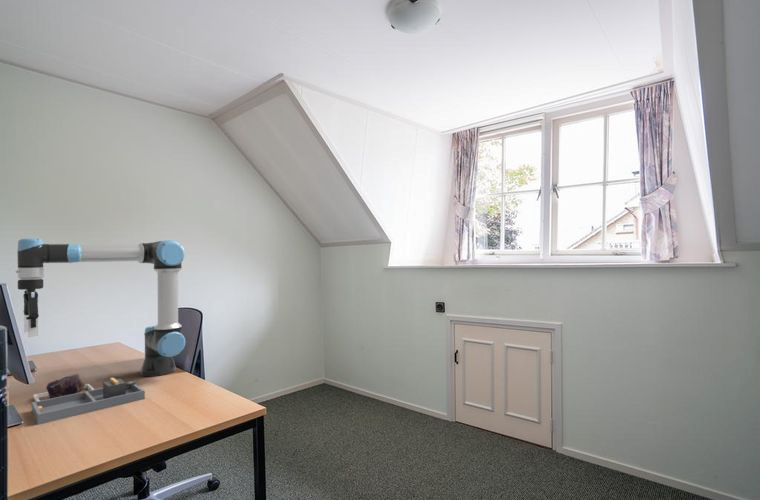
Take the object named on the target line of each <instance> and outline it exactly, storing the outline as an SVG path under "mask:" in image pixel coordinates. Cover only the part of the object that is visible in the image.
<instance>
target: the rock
mask: <svg viewBox="0 0 760 500" xmlns="http://www.w3.org/2000/svg"><path fill="white" fill-rule="evenodd" d="M47 383H48V384H47V385H46V388H45V389H46V392H48V393H49V396H48V399H51V398H56V397H61V396H66V395H70V394H75V393H80V392H83V391H84V390H85V388H84V385H85V383H84V382H83V381H82V379H81V376H80V375H79V374H78V373H75V374H72V375H69V376H65V377H63V378H60V379H56V380H54V381H51V382H47Z"/></svg>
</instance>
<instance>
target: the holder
mask: <svg viewBox="0 0 760 500" xmlns="http://www.w3.org/2000/svg"><path fill="white" fill-rule="evenodd" d="M145 396H146V395H145V390H144V389H143V388H142V387H140V386H139V385H137V381H136V380H132V381H124V380H123V379H121V378H115V377H110V378H109V380H107V381H103V383H102V387H99V388H94V390H85V391H81V392H78V393H75V394H70V395H66V396H61V397H56V398H51V399H50V398H48V399H47V398H46V399H42V400H40V401H37V402H35V401H32V402H31V413H32V415H33V416H34V418H35V422H36V423H37V425H42V424H45V423H49V422H53V421H54V422H55V421H58V420H61V419H62V420H63V419H66V418H69V417H74V416H79V415H83V414H86V413H91V412H95V411H99V410H104V409H107V408H112V407H117V406H120V405H124V404H128V403H134V402H137V401H141V400H145Z"/></svg>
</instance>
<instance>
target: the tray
mask: <svg viewBox="0 0 760 500" xmlns="http://www.w3.org/2000/svg"><path fill="white" fill-rule="evenodd" d="M84 389H87V390H88V391H90V390H94V389H95V388H94V386H92V385H91V384H90V383H86V384H85V383H84ZM44 397H49V393H48V391H45V392H41V393H35V394H33V400H34V402H37V401H41V400H40V398H44Z"/></svg>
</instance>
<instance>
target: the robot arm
mask: <svg viewBox="0 0 760 500" xmlns="http://www.w3.org/2000/svg"><path fill="white" fill-rule="evenodd" d="M185 257H186V251H185V249H184V247H183V246H182V244H181V243H179V242H177V241H174V240H167V239H166V240H160V241H155V242H147V243H146V242H143V243H141V242H140V243H138V244H137V245H136V244H135V245H134V244H133V245H131V244H125V245H124V244H121V245H120V244H119V245H118V244H111V245H110V244H87V245H86V244H73V243H60V244H59V243H55V244H54V243H45V242H44V240H43V238H21V239H19V240H18V241H17V270H15V273H16V274H17V278H18V280H17V289H18V290H24V291H23V292H24V294H23V296H22V297H23V302H24V303H23V304H24V305H23V315H24V316H23V317H24V318H23V321H24V322H23V330H24V333H27V337H28V338H30V337H31V338H32V337H37V336H38V337H39V325H38V324H39V319H38V318H39V316H40V315H39V306H38V303H39V294H38V292H37V291H36V290H40V289H43V288H44V279H43V278H44V270H45V269H44V268H45V267H44V264H52V263H54V264H55V263H56V264H57V263H58V264H67V263H69V264H72V263H94V262H95V263H100V262H101V263H103V262H109V263H110V262H138V263H140V264H152V265H153V270H154V272H156V273H157V324H156V325H153V326H147V327H146V328H145V329H144V359H143V363H142V365H141V368H140V376H142V377H159V376H164V375H169V374H172V373H174V372H176V368H177V367H176V364H175V360H174V358H173V357H175V356H177V355H179V354H180V353H181V352H182V351H183V350H184V349H185V346H186V337H185V335H183V327H182V326H183V325H182V324H181V323H179V272H180V271H181V270H182V262H183V261H184V259H185Z"/></svg>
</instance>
